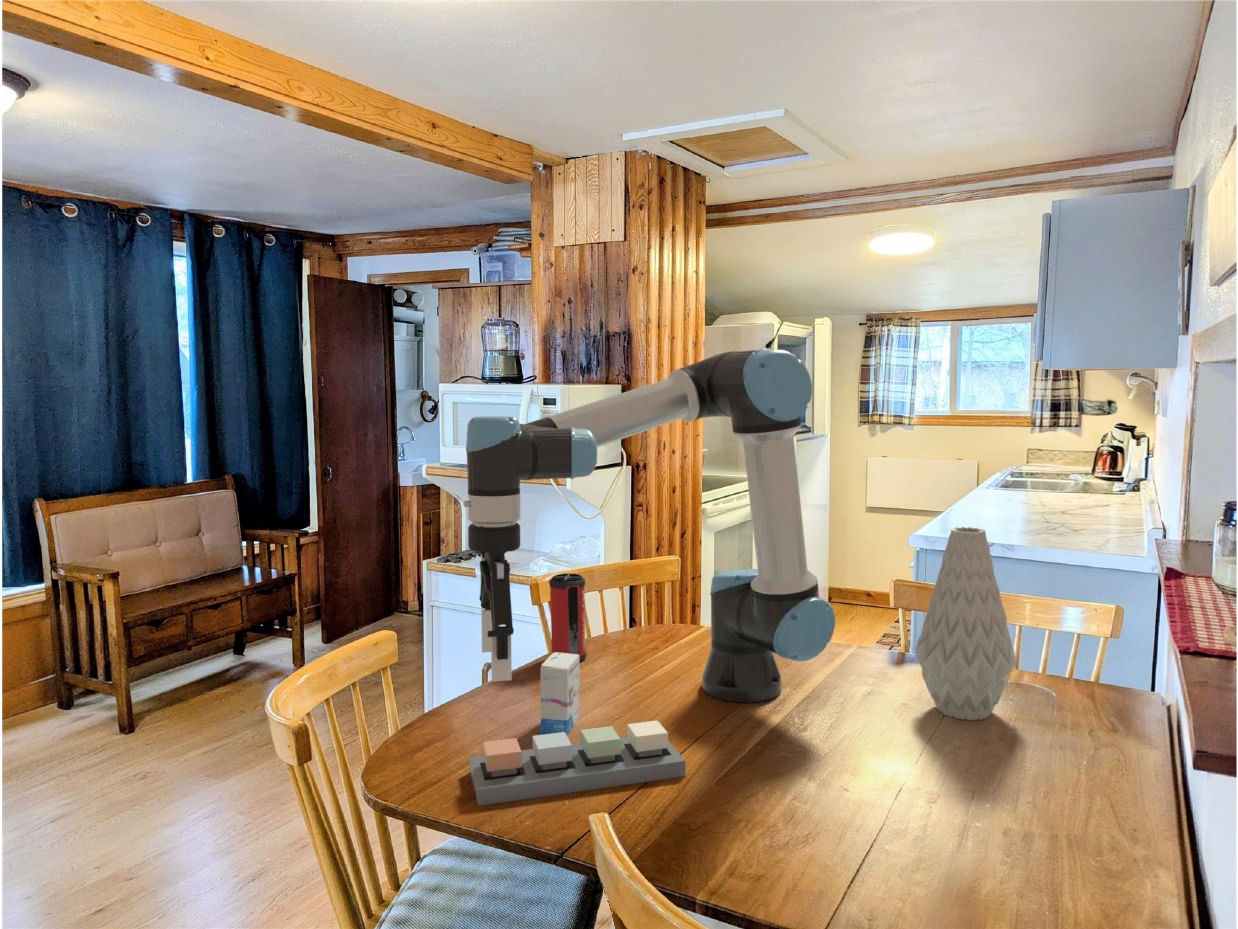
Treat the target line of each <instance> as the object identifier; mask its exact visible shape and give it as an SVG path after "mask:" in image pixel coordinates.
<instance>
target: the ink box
mask: <svg viewBox="0 0 1238 929" xmlns="http://www.w3.org/2000/svg"><path fill="white" fill-rule="evenodd" d="M551 653H552V652H551ZM579 718H580V661H579V655H578V654H568V653H558V652H555V653H552V655H551V654H550V656H549V657H547V658H546V659H545V661H544V662H542V664H541V667H540V735H544V734H552V733H560V732H565V733H566V735H567V736H568V735H569V733H570V732H571V731H572V728H573V727H574V725H575V724H576V722H577V721H578V719H579Z"/></svg>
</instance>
